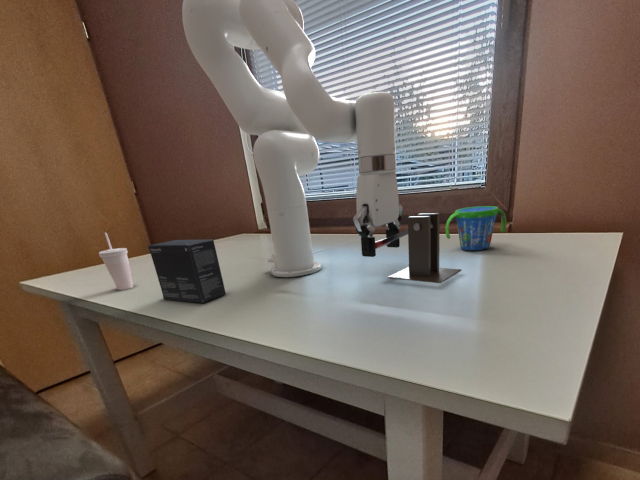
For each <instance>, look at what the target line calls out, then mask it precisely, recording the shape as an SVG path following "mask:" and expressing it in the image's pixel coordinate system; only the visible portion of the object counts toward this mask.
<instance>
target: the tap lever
mask: <svg viewBox="0 0 640 480" xmlns="http://www.w3.org/2000/svg"><path fill="white" fill-rule="evenodd" d="M433 227H434V225H433V222H432V219H431V228H433ZM405 236H408V228H406V229H404V230H402V231H399V233H397V234H395V235H393V236H391V237H388V238H386V237H385V238H382V239H379V240H377V241H376V240H375V249H376V250H377V249H379V248H382V247H385V246H387V245H388V244H390V242H391V241H394V240H396V239H398V238H399V239H401V238H403V237H405Z"/></svg>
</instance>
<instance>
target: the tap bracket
mask: <svg viewBox="0 0 640 480" xmlns="http://www.w3.org/2000/svg"><path fill="white" fill-rule="evenodd" d="M440 215H441V214H440V212H435V213H433V212H431V213H429V212H428V213H427V212H426V213H418V214H417V216H415V215H413V216H412V215H411V216H410V215H409V216H408V217H407V229H408V235H407V237H408V238H407V239H408V240H407V242H408V266H407V267H405V268H403V269H401V270H398V271H397V272H395V273H392V274H390V275H389V276H387V279H392V280H393V279H395V280H403V281H414V282H424V283H434V284H443V282H445V281H447V280H448V279H450V278H452V277H454V276H455V275H456V274H458V273H460V272H461V271H462V269H460V268H446V267H440V234H441V233H440V231H441V230H440V229H441V228H440V226H441V223H440V222H441V219H440V217H441V216H440ZM431 219H432V222H433V225H434V227H433V228H431Z"/></svg>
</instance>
